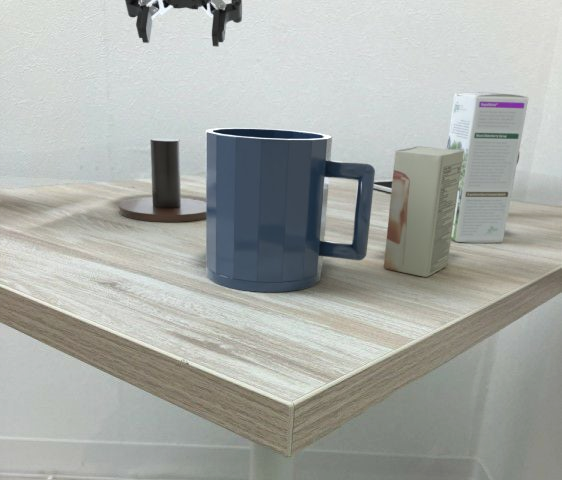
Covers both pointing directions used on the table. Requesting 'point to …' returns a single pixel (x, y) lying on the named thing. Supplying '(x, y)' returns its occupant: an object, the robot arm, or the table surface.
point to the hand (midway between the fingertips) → (180, 39)
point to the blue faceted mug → (276, 208)
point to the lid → (164, 189)
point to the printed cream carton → (422, 209)
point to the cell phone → (383, 185)
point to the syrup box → (485, 161)
